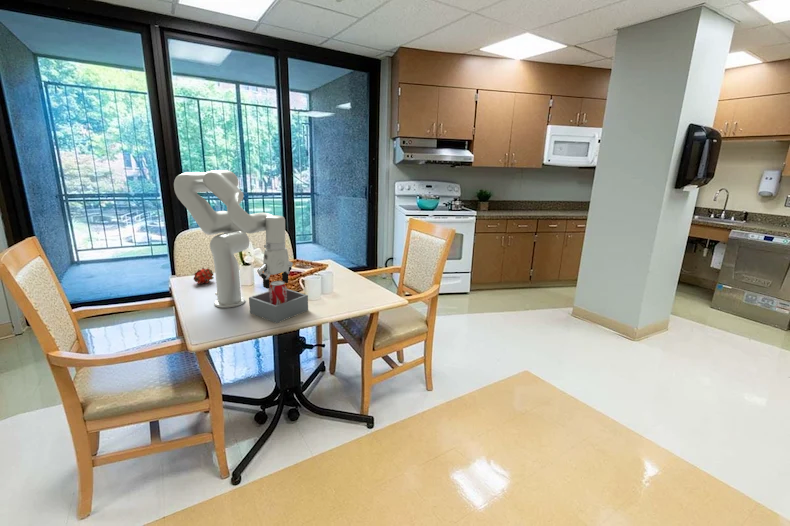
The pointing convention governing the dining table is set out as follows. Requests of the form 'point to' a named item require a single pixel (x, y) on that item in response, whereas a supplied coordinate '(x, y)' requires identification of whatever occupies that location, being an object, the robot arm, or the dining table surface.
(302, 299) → the crate
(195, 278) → the dragon fruit
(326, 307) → the dining table surface
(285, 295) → the soda can
